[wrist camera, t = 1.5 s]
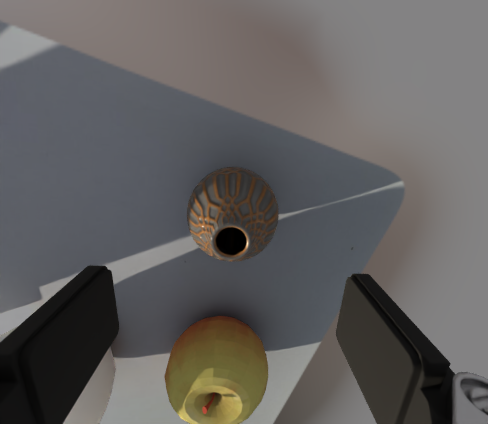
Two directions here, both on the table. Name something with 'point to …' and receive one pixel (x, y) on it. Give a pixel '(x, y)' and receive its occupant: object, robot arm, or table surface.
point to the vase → (232, 214)
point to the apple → (216, 372)
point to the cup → (91, 392)
